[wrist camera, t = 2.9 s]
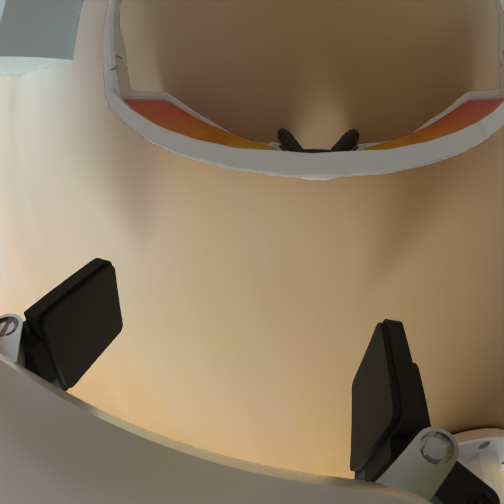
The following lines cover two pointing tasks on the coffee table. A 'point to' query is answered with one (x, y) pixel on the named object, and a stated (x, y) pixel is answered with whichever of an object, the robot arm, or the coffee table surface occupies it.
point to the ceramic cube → (36, 34)
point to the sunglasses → (288, 150)
